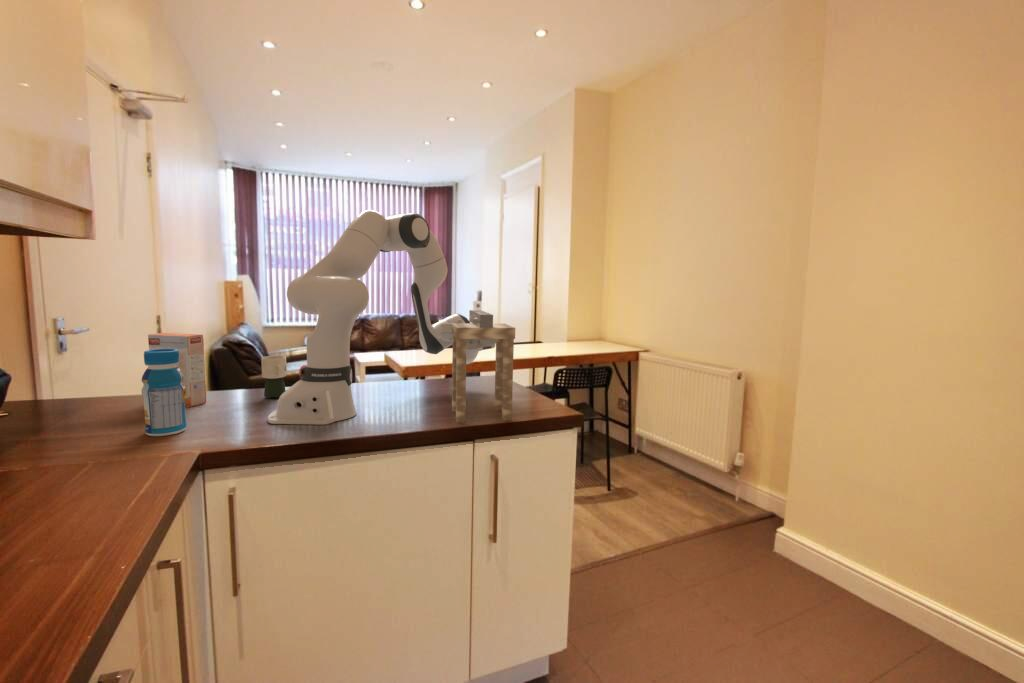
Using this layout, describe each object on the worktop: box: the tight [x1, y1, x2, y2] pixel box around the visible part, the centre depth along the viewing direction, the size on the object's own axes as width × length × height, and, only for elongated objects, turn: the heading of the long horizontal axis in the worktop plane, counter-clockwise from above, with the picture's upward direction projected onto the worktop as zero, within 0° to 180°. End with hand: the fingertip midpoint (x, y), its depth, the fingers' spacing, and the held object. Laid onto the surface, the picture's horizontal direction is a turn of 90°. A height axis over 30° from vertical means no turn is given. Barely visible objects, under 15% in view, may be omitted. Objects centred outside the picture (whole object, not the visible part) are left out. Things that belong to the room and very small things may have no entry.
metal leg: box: [468, 309, 494, 328], centre depth 138 cm, size 4×22×4 cm, turn 13°
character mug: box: [260, 355, 288, 399], centre depth 151 cm, size 11×7×13 cm, turn 44°
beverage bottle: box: [141, 349, 187, 437], centre depth 114 cm, size 8×8×20 cm
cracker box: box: [147, 332, 207, 408], centre depth 140 cm, size 14×6×21 cm, turn 77°
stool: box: [451, 322, 516, 424], centre depth 135 cm, size 16×14×26 cm
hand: (474, 321), depth 148 cm, fingers open, 8 cm apart
